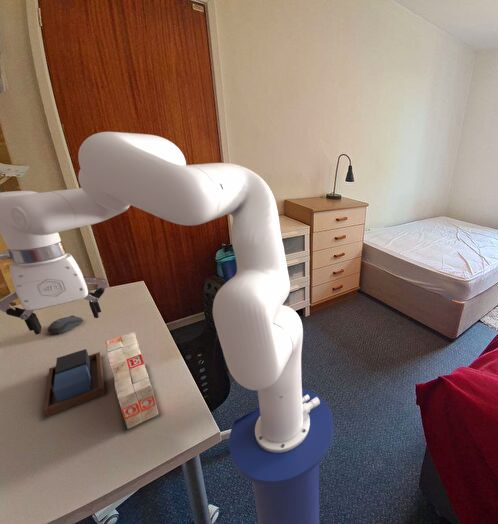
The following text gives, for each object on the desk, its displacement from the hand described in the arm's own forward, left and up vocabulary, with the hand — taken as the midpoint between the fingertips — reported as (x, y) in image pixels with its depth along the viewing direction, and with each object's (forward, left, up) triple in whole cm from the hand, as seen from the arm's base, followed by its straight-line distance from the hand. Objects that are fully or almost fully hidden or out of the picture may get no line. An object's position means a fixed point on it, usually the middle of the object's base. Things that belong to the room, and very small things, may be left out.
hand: (69, 323), depth 64 cm
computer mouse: (+7, -43, -22) cm, 49 cm away
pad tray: (+4, -8, -22) cm, 23 cm away
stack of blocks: (-8, +6, -22) cm, 24 cm away
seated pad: (+4, -12, -21) cm, 25 cm away
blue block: (+4, -4, -21) cm, 22 cm away
